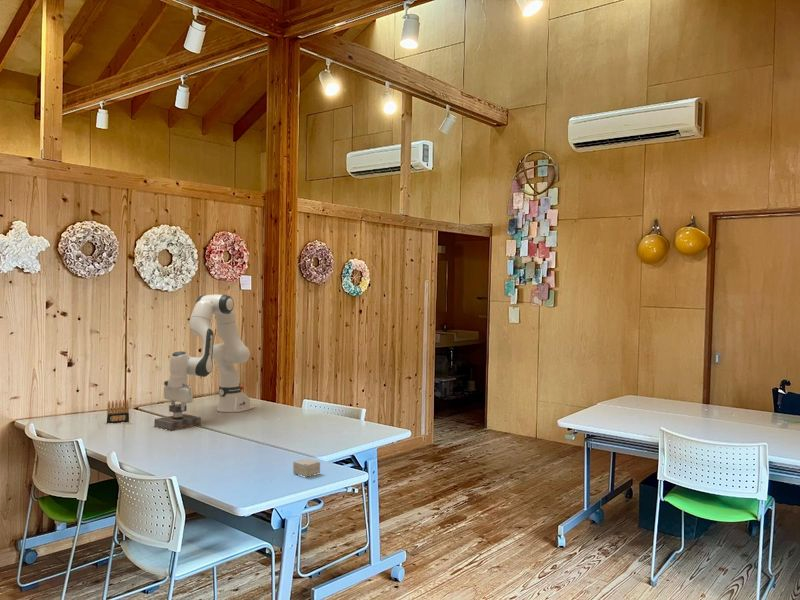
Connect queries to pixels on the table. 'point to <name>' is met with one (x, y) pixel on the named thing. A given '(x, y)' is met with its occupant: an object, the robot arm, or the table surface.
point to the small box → (306, 467)
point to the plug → (177, 410)
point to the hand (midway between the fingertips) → (178, 409)
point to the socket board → (177, 422)
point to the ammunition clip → (118, 412)
